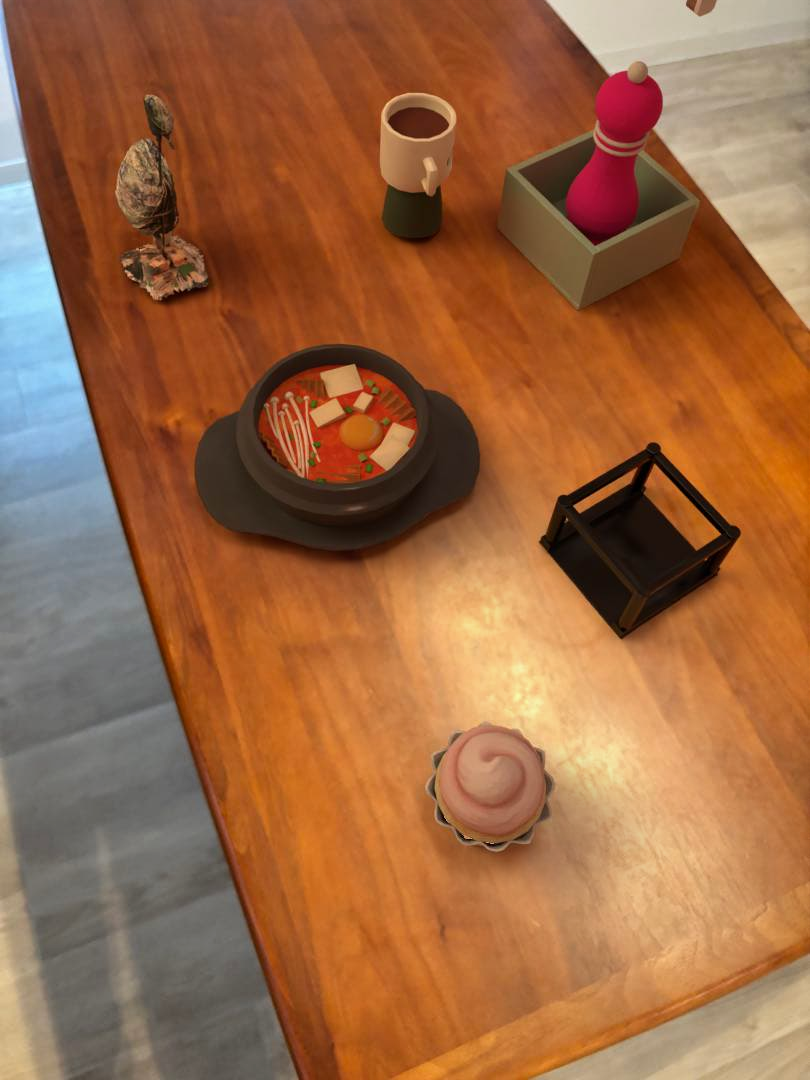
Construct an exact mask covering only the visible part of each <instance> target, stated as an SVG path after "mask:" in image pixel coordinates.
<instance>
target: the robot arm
mask: <svg viewBox="0 0 810 1080" xmlns="http://www.w3.org/2000/svg"><path fill="white" fill-rule="evenodd" d="M717 1H718V0H686V2H685V7H687V8H688V9H689V10H691V12H693V13H694V14H695V15H697V16H698V17H699V18H700V17H703V16H705V15H708V14H710V13H711V12H713V10H714V9H715V7H716V4H717Z"/></svg>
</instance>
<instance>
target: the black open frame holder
mask: <svg viewBox="0 0 810 1080" xmlns="http://www.w3.org/2000/svg"><path fill="white" fill-rule="evenodd" d="M654 466H656V467H657V468H658V469H659V470H660V471H661V472H662V474H664V476H666V477H667V479H668V480H669V481H670V482H671V483H672V484H673V485H674V486H675V487H676V488H677V489H678V490H679V492H680V493H681V494H682V495H683V496H684V497H685V498H686V499H687V500H688V501H689V502H690V504H692V505H693V506H694V507H695V509H697V510H698V512H699V513H700V514H701V515H702V516H703V517H704V518H705V519H706V520H707V521H708V522H709V523H710V524H711V526H713V527H714V529H715V530H716V531H717V532H718V533H719V534H720V535H718V536H717V537H716V538H714V539H712V540H711V541H709V542H708V543H706V544H705V545H703V546H702V547H700V548H698V549H696V548H695V547H694V545H692V544H691V543H690V541H688V540H687V538H685V536H684V535H683V534H682V533H681V532H680V531H679V530H678V529H677V527H676V526H674V524H673V523H672V522H671V521H670V520H669V519H668V518H667V517H666V516H665V515H664V514H663V512H662V511H661V510H660V509H659V508H658V507H657V506H656V504H655V503H653V501H652V500H651V499H650V498H649V497H648V496H647V495H646V494H645V492H646V490H647V487H646V484H647V482H648V479H649V477H650V475H651V473H652V471H653V468H654ZM634 470H635V472H634V474H633V476H632V478H631V481H630V483H628V484H627V485H624V486H623V487H621V488H620V489H618V490H616V491H615V492H613V493H611V494H610V495H608V496H606V497H605V498H603V499H601V500H600V501H598V502H597V503H595V504H593V505H592V506H590V507H588V508H587V509H585V510H583V511H582V512H579V511H578V509H576V507H575V505H577V504H579V503H580V502H582V501H584V500H585V499H588V498H589V497H591V496H593V494H594V495H595V493H597V492H599V491H600V490H602V489H604V488H606V487H607V486H609V485H611V484H613V483H614V482H615V481H617V480H619V479H621V478H622V477H624V476H626V475H627V474H630V473H631V472H632V471H634ZM741 536H742V532H741V529H740V528H739V526H737V525H734V524H731V523H730V522H729V521H727V519H726V518H725V517H724V516H723V515H722V514H721V513H720V512H719V511H718V510H717V509H716V508H715V506H713V505H712V503H711V502H710V501H709V500H708V499H706V498H705V496H704V495H703V494H702V493H701V492H700V491H699V490H698V489H697V487H695V486H694V485H693V484H692V482H691V481H689V479H687V477H686V476H685V475H684V474H683V473H682V472H681V471H680V470H679V469H678V468H677V466H675V465H674V464H673V462H672V461H670V459H669V458H668V457H667V456H666V455H665V454H664V453H663V452H662V447H661V445H660V444H659V443H657V442H655V441H654V442H653V441H652V442H649V443H647V445H646V447H645V449H643V450H641V451H639V452H638V453H636V454H634V455H632V456H631V457H630V458H628V459H626V460H624V461H622V462H620V463H619V464H617V465H616V466H614V467H612V468H611V469H609V470H607V471H605V472H604V473H603V474H600V475H599V476H597V477H595V478H594V479H592V480H591V481H589V482H587V483H585V484H583V485H582V486H580V487H578V488H577V489H575V490H573V491H572V492H570V493H569V494H568V493H567V494H560V495H558V497H557V499H556V502H555V505H554V508H553V510H552V514H551V517H550V520H549V522H548V525H547V528H546V531H545V534H543V535H541V537H540V540H538V543H539V544H540V546H541V547H542V548H543V549H544V550H545V552H546V553H547V554H548V555H549V556H550V558H551V559H552V561H554V562H555V563H556V564H557V566H558V568H560V569H561V571H562V572H563V573H564V574H565V575H566V577H567V578H568V579H569V580H570V581H571V582H572V584H573V585H574V586H575V587H576V588H577V590H578V591H579V592H580V593H581V594H582V596H583V597H584V598H585V599H586V600H587V602H589V604H590V605H591V606H592V607H593V609H594V610H595V611H596V612H597V614H598V615H599V616H600V617H601V618H602V619H603V620H604V621H605V623H606V625H608V627H609V628H610V629H611V630H612V631H613V632H614V634H615V635H616V636H617V637H618V638H619V639H620V640H623V639H624V638H625V637H626V636H629V635H630V634H631V633H633V632H634V631H636V630H637V629H639V628H640V627H642V626H643V625H645V624H646V623H648V622H650V621H651V620H653V619H654V618H655V617H657V616H659V615H660V614H662V613H663V612H665V611H666V610H668V609H669V608H670V607H672V606H674V605H675V604H676V603H678V602H680V601H681V600H683V599H684V598H686V597H687V596H689V595H690V594H692V593H694V591H696V590H697V589H699V588H701V587H702V586H704V585H705V584H707V583H708V582H710V581H712V580H713V579H715V578H716V577H717V576H718V575H719V574H718V573H719V572H720V571H721V565H722V563H723V562H724V560H725V559H726V558H727V556H728V555H729V553H730V552H731V550H732V549H733V547H734V546H735V545H736V543H737V541H738V540H739V539H740V537H741Z"/></svg>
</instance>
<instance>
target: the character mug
mask: <svg viewBox="0 0 810 1080" xmlns="http://www.w3.org/2000/svg"><path fill="white" fill-rule="evenodd" d="M456 129H457V113H456V110H455V109H454V108H453V106H452V105H451V104H450V103H449V102H448V101H447V100H444V99H443V98H441V97H438V96H437V95H435V94H429V93H425V92H407V93H403V94H400V95H396V96H395V97H393V98H392V99H391V100H389V101H388V102H386V104H385V106H384V107H383V109H382V111H381V116H380V139H379V140H380V145H379V167H380V175H381V176H382V178H383V179H384V181H386V184H387V186H386V187H387V188H386V192H385V196H384V201H383V206H382V213H381V220H382V223H383V227H385V229H386V230H387V231H389V232H390V233H391V234H392V235H394V236H399V237H401V238H405V239H423V238H427V237H431V236H434V235H435V234H436V233H437V232H438V231H439V230H440V229H441V226H442V223H443V197H442V187H441V186H442V184H443V183H444V182H445V181H446V180H448V178H449V177H450V174H451V172H452V171H453V170H452V169H453V147H454V145H455V142H456Z"/></svg>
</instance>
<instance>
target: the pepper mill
mask: <svg viewBox="0 0 810 1080" xmlns="http://www.w3.org/2000/svg"><path fill="white" fill-rule="evenodd" d="M663 107H664V97H663V92H662V90H661V87H660V85H659V84H658V82H657V81H656V80H655V79H654V78H653V77H651V75H649V68H648V66H647V64H646V63H645V62H644V61H642V60H641V61H640V60H637V61H634V62H631V64H629V67H628V68H627V70H622V71H619V72H616V73H614V74H612V75H611V76H609V77H608V78H607V79H606V80H605V81H604V82H603V83H602V85H601V86H600V87H599V90H598V92H597V95H596V98H595V105H594V112H595V115H596V118H597V119H596V122H595V127H594V128H593V130H594V132H593V138H594V141H595V143H596V148H595V151H594V154H593V156H592V158H591V160H590V161H589V162H588V164H587V165H586V166H585V167H584V168H583V170H582V171H581V172H580V173H579V174H578V176H577V177H576V178H575V180H574V181H573V183H572V185H571V187H570V189H569V192H568V195H567V198H566V211H567V214H568V216H567V220H568V221H570V222H571V223H572V224H573V225H574V226H575V227H576V228H577V229H578V230H579V231H580V232H581V233H582V234H583V235H584V236H585V237H586V238H587V239H588V240H589V241H590V242H591V243H592V244H593V245H594V246H597V245H599V244H601V243H603V242H605V241H607V240H609V239H611V238H613V237H615V236H617V235H619V234H621V233H623V232H625V231H626V230H627V228H629V227H630V226H631V225H632V223H633V222H634V220H635V218H636V216H637V211H638V206H639V193H638V187H637V183H636V179H635V174H634V166H635V162H636V158H637V155H638V153H639V152H641V151H642V150H643V151H644V150H645V148H646V146H647V144H648V139H649V136H650V131H651V130H653V129H654V128H655V126H656V125H657V123H658V122H659V120H660V118H661V115H662V112H663Z"/></svg>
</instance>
